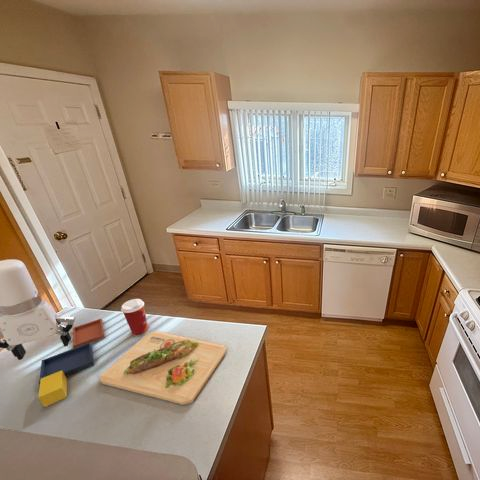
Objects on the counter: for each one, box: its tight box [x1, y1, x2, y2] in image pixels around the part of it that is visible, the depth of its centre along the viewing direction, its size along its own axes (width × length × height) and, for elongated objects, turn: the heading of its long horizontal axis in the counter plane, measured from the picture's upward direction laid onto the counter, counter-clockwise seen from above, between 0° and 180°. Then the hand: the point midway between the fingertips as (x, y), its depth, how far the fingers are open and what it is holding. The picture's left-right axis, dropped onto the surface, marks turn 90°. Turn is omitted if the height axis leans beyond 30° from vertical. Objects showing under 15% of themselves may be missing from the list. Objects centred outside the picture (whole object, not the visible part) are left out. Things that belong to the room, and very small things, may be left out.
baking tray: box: [38, 342, 95, 385], centre depth 90 cm, size 13×11×2 cm
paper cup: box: [120, 298, 149, 336], centre depth 104 cm, size 8×8×14 cm
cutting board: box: [99, 330, 228, 406], centre depth 91 cm, size 35×23×8 cm
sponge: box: [38, 371, 68, 408], centre depth 80 cm, size 8×5×4 cm, turn 41°
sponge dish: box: [72, 318, 106, 349], centre depth 103 cm, size 12×9×2 cm
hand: (45, 349), depth 76 cm, fingers open, 9 cm apart
